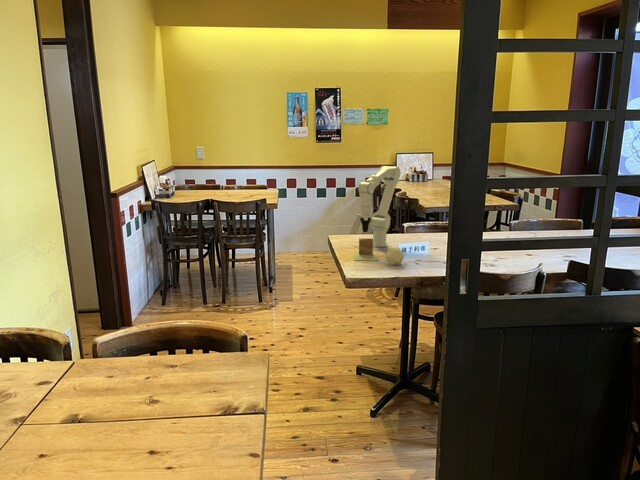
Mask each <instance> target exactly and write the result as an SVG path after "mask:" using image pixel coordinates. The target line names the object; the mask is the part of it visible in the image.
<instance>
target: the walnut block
mask: <svg viewBox="0 0 640 480" xmlns="http://www.w3.org/2000/svg"><path fill="white" fill-rule="evenodd" d="M373 253H374V247H373V238H358V255H374V254H373Z"/></svg>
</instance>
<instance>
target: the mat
mask: <svg viewBox="0 0 640 480" xmlns="http://www.w3.org/2000/svg"><path fill="white" fill-rule="evenodd" d="M353 260H354V262H356V261H358V262H359V261H364V262H365V261H367V262H368V261H369V262H373V261H375V262H376V261H377V262H379V261H380V260H379V255H378V254H377V255H376V254H373V255H359V254H354V255H353Z"/></svg>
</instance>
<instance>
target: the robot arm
mask: <svg viewBox="0 0 640 480" xmlns="http://www.w3.org/2000/svg"><path fill="white" fill-rule="evenodd" d="M400 178H401V168H400V167H399V166H388V165H382V166H381V167H380V169H379V171H378V172H377V174H375V175H370V177H369V178H368V179H366V180H365V181H361V182H360V183H359V185H358V186H357V190H358V193H359V203H360V205H359V213H357V216H360V217H359V220H360V222H361V227H362V232H363V233H367V232H369V226H370V228H371V230H372V239H373V248H374V247H376V248H381V247H382V248H385V247H388V242H387V230H388V229H390V225H391V220H392V219H391V215H389V213H388V212H389V209H390V206H391V202H392V199H393V195H394V192H395V190H396V186H397V184H398V183H399V180H400ZM381 181H382V182H383V183H384V184H385V187H384V189H383V190H384V191H383V194H382V197H381V200H380V204H379V208H378V210H377V211H376V212H374V213H373V214H372V194H374V191H375V189H376V188H377V187H378V186H379V185H380V183H381Z"/></svg>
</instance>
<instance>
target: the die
mask: <svg viewBox="0 0 640 480" xmlns="http://www.w3.org/2000/svg"><path fill="white" fill-rule="evenodd" d="M384 258H385V260H386V261H387V263H388V264H389V265H390V266H399V265H402V262H403V260H404V258H405V254H404V252H403V251H402V250H401V248H400V247H388V249H387V251H386V254H385V256H384Z"/></svg>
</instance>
